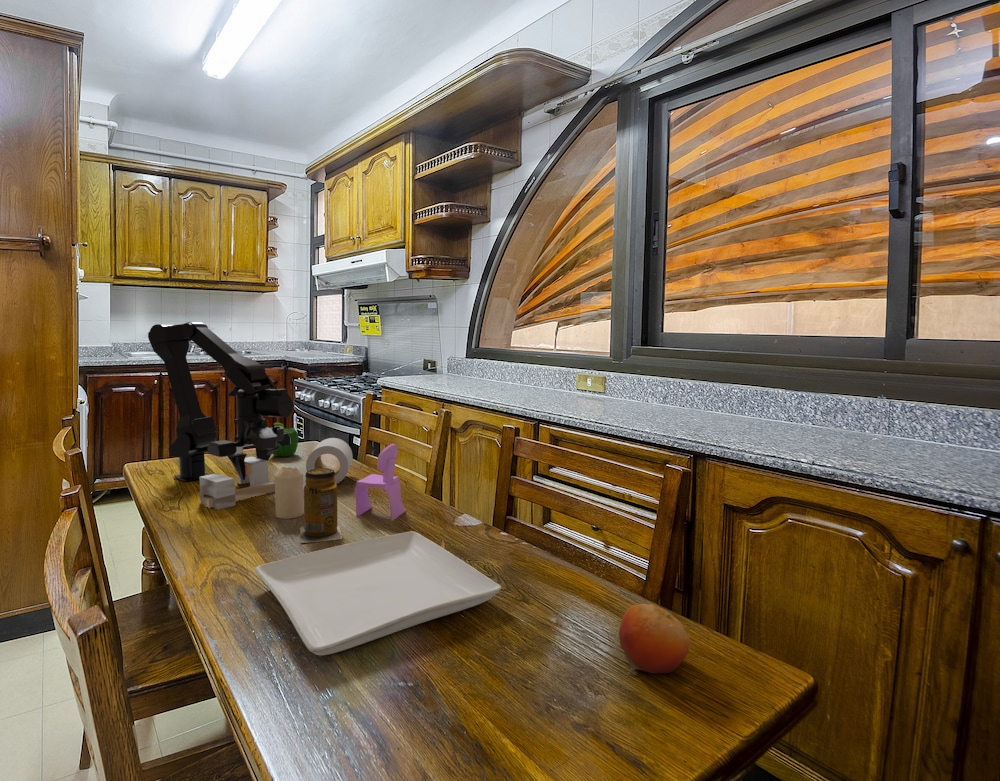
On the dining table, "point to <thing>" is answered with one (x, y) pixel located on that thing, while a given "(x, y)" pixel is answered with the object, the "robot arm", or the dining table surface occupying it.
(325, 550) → the square plate
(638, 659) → the fruit
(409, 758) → the dining table surface
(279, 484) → the candle
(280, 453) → the bell pepper
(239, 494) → the grey block with bar
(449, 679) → the dining table surface
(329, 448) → the toilet paper
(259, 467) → the white block orange stripe
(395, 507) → the toy chair
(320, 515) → the condiment
